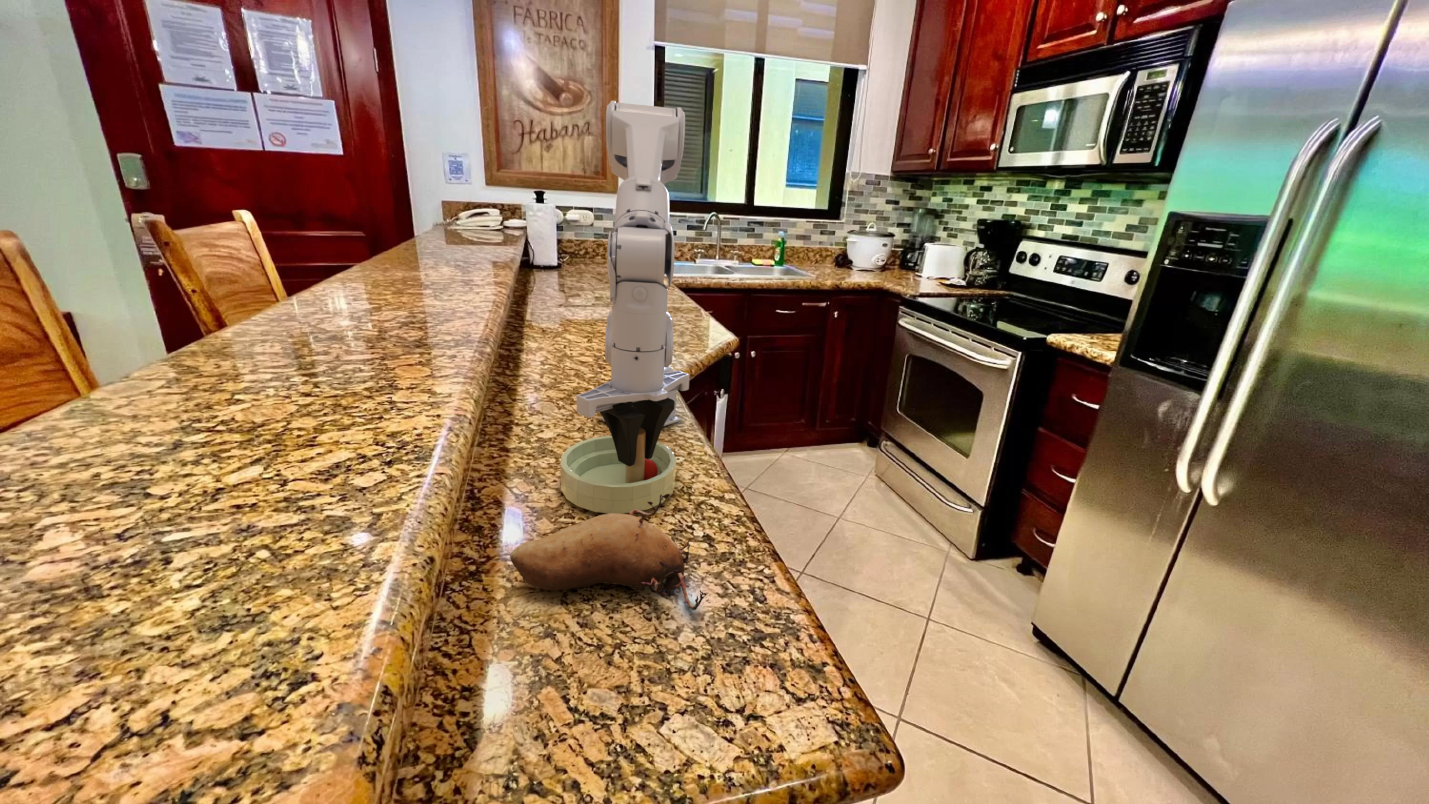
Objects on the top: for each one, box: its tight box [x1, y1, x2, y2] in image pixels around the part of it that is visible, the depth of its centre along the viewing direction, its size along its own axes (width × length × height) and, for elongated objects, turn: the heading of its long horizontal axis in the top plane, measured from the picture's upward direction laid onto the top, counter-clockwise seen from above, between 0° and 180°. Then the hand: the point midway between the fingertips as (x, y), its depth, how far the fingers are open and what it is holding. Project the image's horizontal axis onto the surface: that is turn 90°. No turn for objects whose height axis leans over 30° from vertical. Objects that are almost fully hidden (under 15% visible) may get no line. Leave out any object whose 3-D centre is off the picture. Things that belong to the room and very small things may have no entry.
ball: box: [644, 459, 658, 480], centre depth 67 cm, size 3×3×3 cm
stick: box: [625, 428, 646, 483], centre depth 63 cm, size 2×2×7 cm
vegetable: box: [509, 494, 708, 611], centre depth 48 cm, size 16×11×10 cm
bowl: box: [559, 434, 677, 514], centre depth 66 cm, size 13×13×4 cm
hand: (635, 459), depth 63 cm, fingers closed on stick, 2 cm apart
